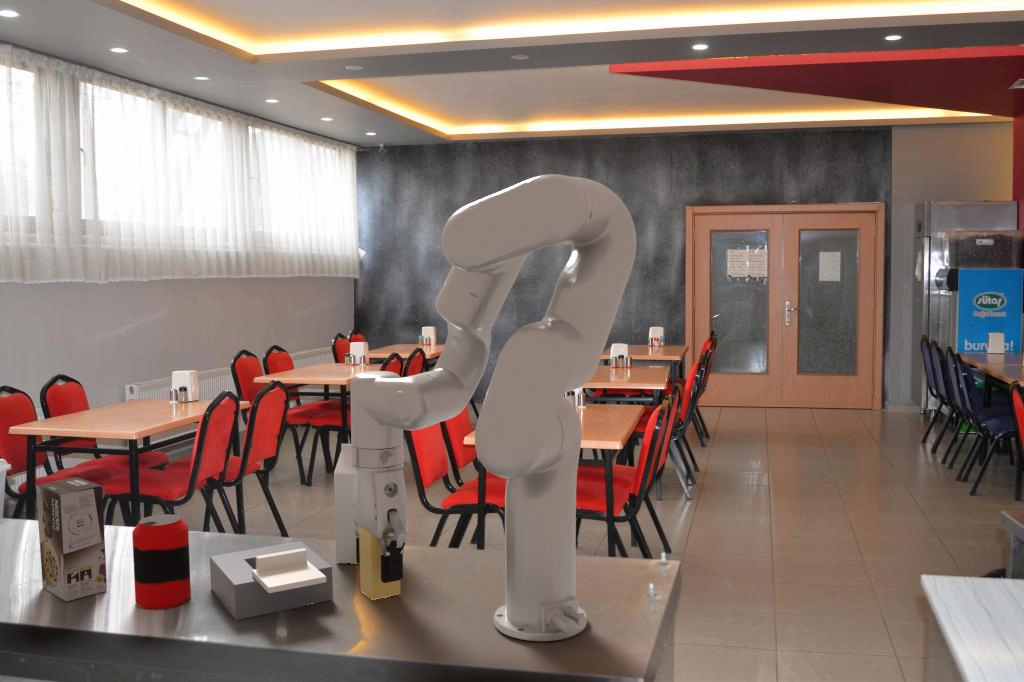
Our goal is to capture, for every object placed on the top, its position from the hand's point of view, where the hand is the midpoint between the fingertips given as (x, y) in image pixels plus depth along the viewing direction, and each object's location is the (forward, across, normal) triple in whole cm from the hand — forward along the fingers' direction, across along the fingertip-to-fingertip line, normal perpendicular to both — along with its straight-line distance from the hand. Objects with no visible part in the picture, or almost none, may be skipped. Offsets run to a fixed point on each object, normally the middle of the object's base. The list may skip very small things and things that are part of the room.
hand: (379, 570), depth 139 cm
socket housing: (+3, +8, +14) cm, 16 cm away
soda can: (+4, +14, +28) cm, 31 cm away
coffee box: (+4, +26, +38) cm, 46 cm away
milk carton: (+4, +16, -4) cm, 17 cm away
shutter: (-2, -1, +14) cm, 14 cm away
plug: (+3, 0, 0) cm, 3 cm away
